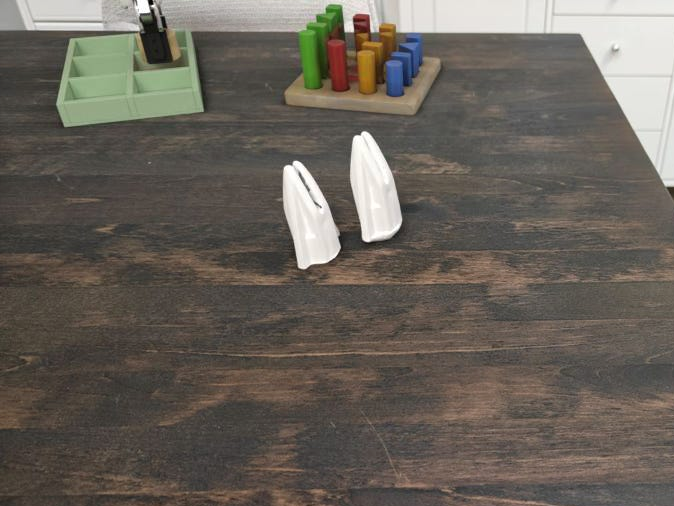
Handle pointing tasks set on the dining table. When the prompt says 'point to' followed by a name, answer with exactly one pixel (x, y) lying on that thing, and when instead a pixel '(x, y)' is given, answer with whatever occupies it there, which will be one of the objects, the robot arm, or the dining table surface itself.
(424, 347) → the dining table surface
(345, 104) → the peg board
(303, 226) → the shaker set
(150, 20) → the robot arm
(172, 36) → the token
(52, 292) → the dining table surface
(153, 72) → the grid
